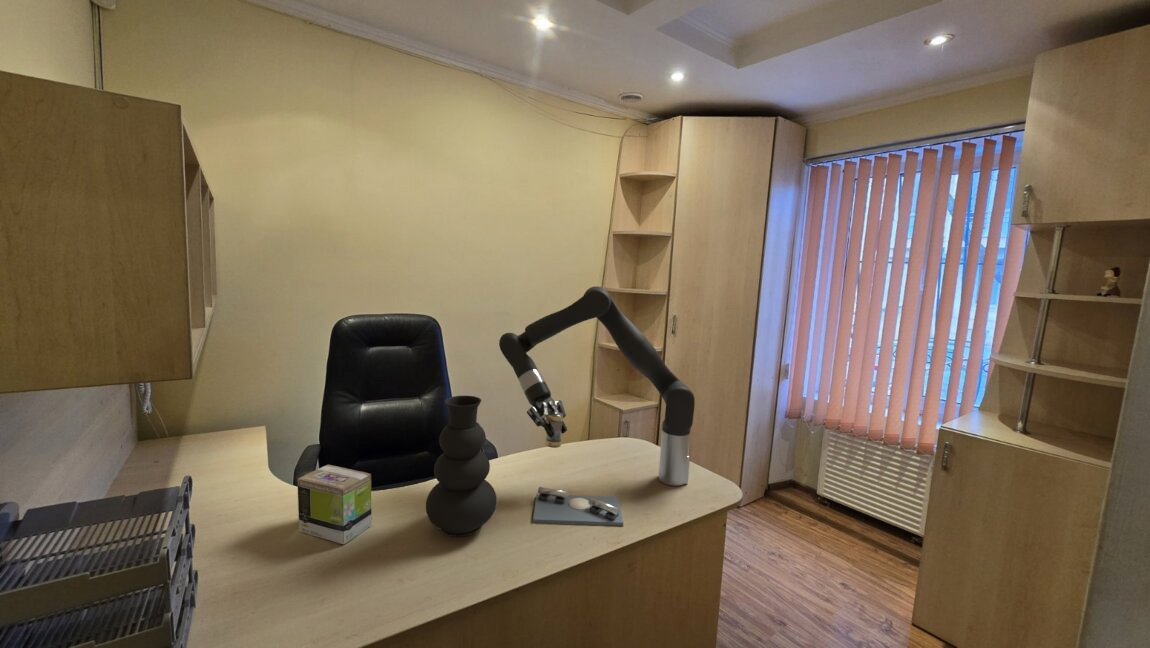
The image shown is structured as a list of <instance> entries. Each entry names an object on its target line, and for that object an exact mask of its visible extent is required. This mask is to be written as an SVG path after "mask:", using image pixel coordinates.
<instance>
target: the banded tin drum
mask: <svg viewBox="0 0 1150 648" xmlns="http://www.w3.org/2000/svg"><path fill="white" fill-rule="evenodd" d="M548 420H549V424H551V426H552V428H553V430H554V432H555V435H554V436H553V437H549V436H548V435H547V434H546V437H545V438H546V439H545V446H546V447H548V448H553V449H556V448H560V447H561V446H562V435H563V434H562V422H564V418H563V413H561V412H556V411H553V412H549V413H548Z"/></svg>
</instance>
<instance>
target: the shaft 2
mask: <svg viewBox="0 0 1150 648" xmlns="http://www.w3.org/2000/svg"><path fill="white" fill-rule="evenodd" d="M589 505H591V506H592V507H591V508H590V512H591V513H593V514H596V515H597V514H598V513H600V512H601V511H602V510H604V511H607V513H606V514H605V518H606V519H608V520H611V521H613V520H614V519H615V518H616V517H618V516H619V508H617V507H615V506H612V505H609V504H607V503H604V502H601V501H599V500H596V499H594V498H590V499H589Z"/></svg>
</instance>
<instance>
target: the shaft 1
mask: <svg viewBox="0 0 1150 648" xmlns="http://www.w3.org/2000/svg"><path fill="white" fill-rule="evenodd" d="M537 494H540V495H539V497H538V500H540V501H547V499H548V498H549V496H555V497H556V498H555V503H557V504H563V503H564V501H565V499H567V498H568V495H570V493H569V491H566V490H562V489H557V488H556V489H555V488H549V487H543V486H538V489H537Z"/></svg>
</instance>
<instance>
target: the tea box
mask: <svg viewBox="0 0 1150 648" xmlns="http://www.w3.org/2000/svg"><path fill="white" fill-rule="evenodd" d="M296 482H297V507H298V529H299V532H300V533H303V534H306V535H307V534H308V535H310V536H313V537H317V538H320V539H323V540H328V541H331V542H334V543H337V544H341V545H345V544H347V543H348V542H349V541H351V540H353V539H355V538H357V536H359V535H360V534H362V533H363V532H365V531H366V530H367V529H369V528H370V527H372V519H373V518H372V516H373V515H372V514H373V513H372V512H373V511H372V473H368V472H366V471H361V470H360V471H359V470H356V469H355V470H354V469H350V468H346V467H341V466H338V465H337V466H336V465H332V464H326V465H324V466H322V467H319V468H318V469H315V470H313V471H311V472H309V473H306V474H305V475H302V476H301V477H298V478H297V481H296ZM368 527H369V528H368Z"/></svg>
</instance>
